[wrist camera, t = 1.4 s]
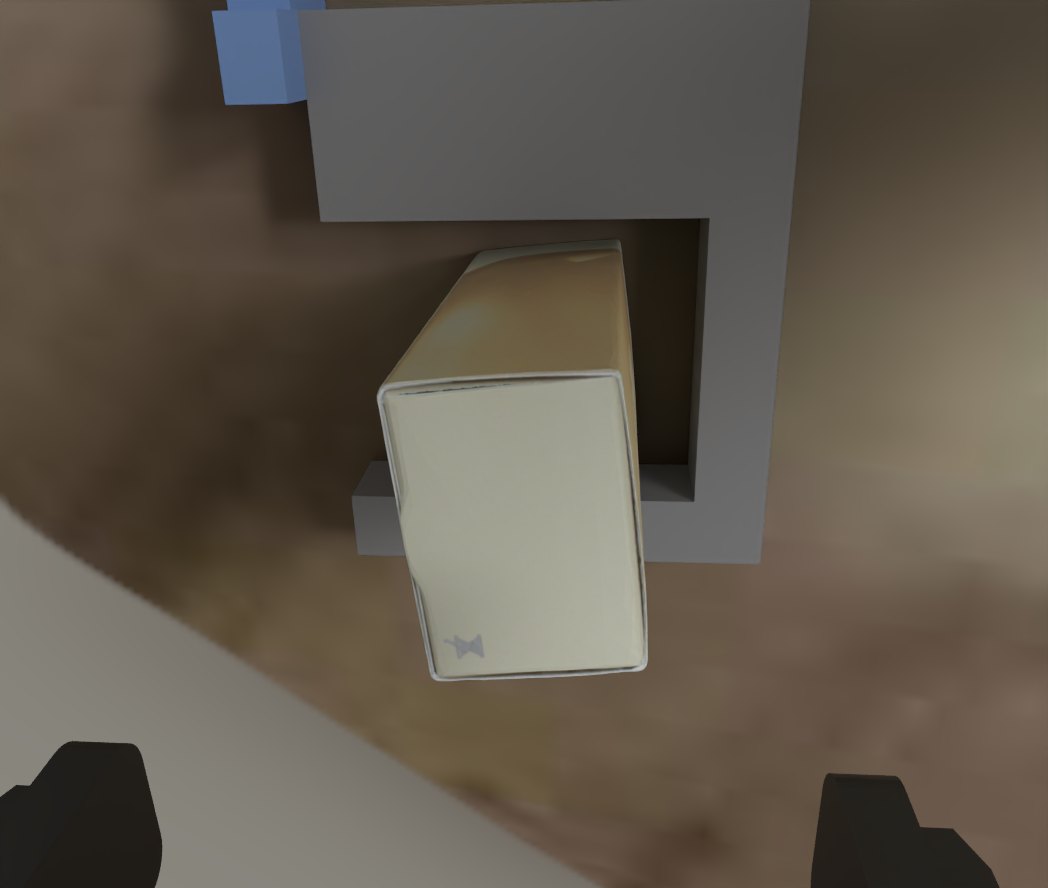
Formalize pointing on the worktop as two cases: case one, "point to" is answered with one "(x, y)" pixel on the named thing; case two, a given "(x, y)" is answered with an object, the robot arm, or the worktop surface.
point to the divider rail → (571, 180)
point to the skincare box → (523, 468)
